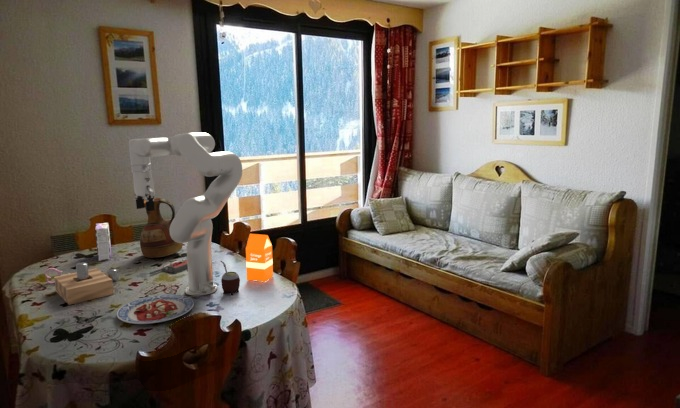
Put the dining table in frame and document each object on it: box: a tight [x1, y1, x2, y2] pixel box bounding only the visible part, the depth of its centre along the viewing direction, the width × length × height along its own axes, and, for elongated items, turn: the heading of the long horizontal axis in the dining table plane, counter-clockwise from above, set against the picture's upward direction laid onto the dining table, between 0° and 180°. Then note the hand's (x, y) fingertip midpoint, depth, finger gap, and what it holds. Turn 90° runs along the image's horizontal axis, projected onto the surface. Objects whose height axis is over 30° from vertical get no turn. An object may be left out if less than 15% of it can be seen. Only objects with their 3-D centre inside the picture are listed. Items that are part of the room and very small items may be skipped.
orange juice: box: [245, 233, 274, 282], centre depth 199 cm, size 8×9×20 cm
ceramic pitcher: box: [139, 197, 183, 259], centre depth 233 cm, size 20×20×30 cm
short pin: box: [107, 268, 120, 284], centre depth 198 cm, size 4×4×5 cm
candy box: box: [95, 222, 112, 262], centre depth 233 cm, size 14×6×16 cm, turn 25°
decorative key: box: [44, 267, 71, 285], centre depth 200 cm, size 7×1×20 cm
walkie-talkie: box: [149, 259, 188, 275], centre depth 212 cm, size 9×4×20 cm
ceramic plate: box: [116, 293, 195, 325], centre depth 166 cm, size 26×26×3 cm
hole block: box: [53, 267, 115, 306], centre depth 185 cm, size 20×16×6 cm
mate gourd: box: [220, 260, 241, 296], centre depth 183 cm, size 8×8×15 cm
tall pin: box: [75, 261, 89, 282], centre depth 184 cm, size 4×4×12 cm
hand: (145, 209), depth 193 cm, fingers open, 9 cm apart
